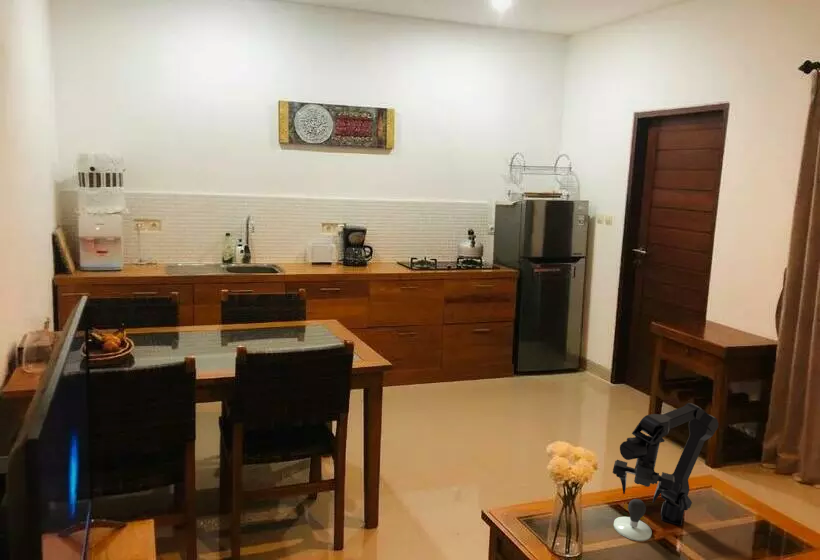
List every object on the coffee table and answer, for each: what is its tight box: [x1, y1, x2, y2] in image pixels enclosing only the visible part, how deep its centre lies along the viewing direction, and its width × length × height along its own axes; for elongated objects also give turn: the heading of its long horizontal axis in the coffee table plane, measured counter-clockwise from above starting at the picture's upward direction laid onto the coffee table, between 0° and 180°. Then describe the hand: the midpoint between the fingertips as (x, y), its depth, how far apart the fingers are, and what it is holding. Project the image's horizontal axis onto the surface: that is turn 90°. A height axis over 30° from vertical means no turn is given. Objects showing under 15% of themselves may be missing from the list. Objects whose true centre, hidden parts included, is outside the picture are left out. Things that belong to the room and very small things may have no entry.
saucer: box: [613, 516, 653, 542], centre depth 219 cm, size 12×12×1 cm
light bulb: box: [627, 498, 647, 528], centre depth 218 cm, size 6×6×10 cm
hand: (638, 497), depth 216 cm, fingers open, 9 cm apart
